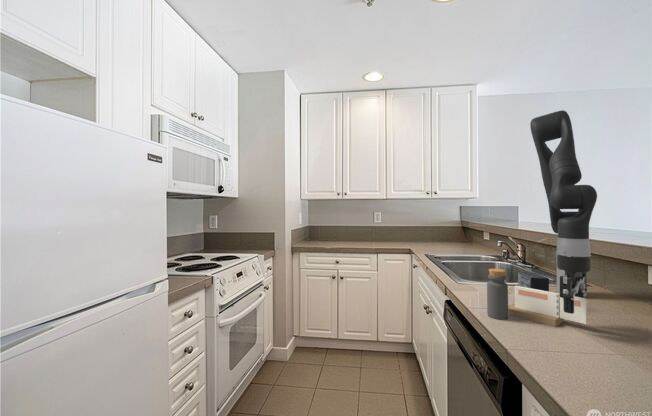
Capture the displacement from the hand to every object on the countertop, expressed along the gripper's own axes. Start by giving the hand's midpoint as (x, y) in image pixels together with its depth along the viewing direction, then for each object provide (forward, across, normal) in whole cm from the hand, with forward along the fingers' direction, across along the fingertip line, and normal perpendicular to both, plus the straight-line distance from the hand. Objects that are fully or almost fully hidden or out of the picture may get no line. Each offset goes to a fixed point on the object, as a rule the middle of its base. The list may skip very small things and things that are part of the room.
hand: (574, 309), depth 86 cm
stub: (+3, 0, 0) cm, 3 cm away
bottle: (+6, +8, -18) cm, 20 cm away
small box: (+5, -17, -17) cm, 25 cm away
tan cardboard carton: (+5, 0, -10) cm, 11 cm away
